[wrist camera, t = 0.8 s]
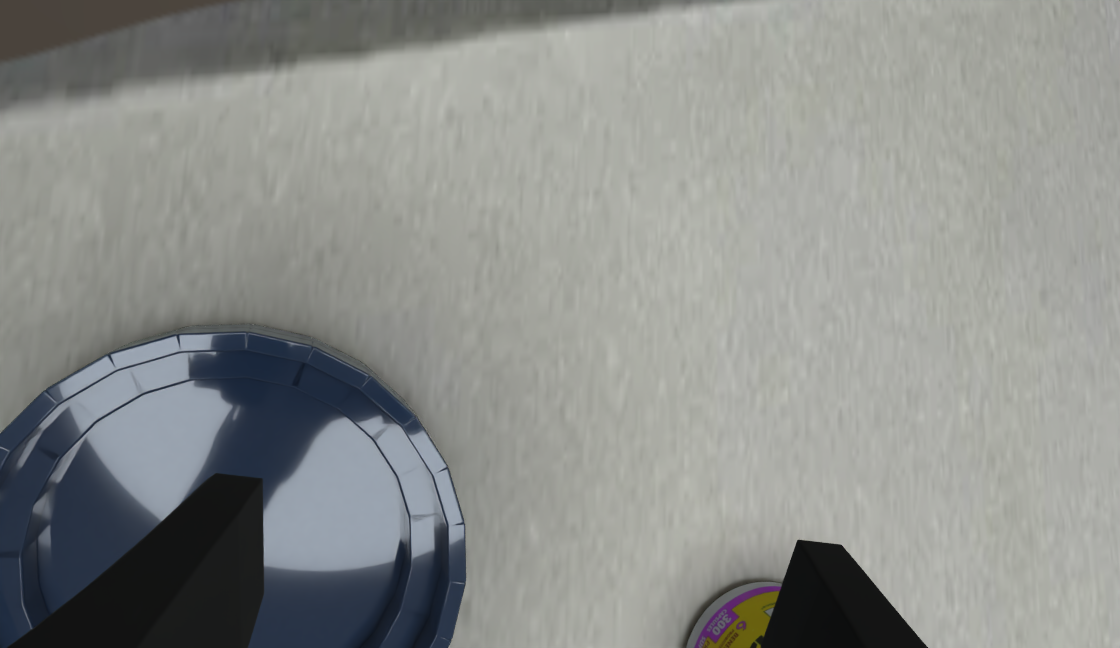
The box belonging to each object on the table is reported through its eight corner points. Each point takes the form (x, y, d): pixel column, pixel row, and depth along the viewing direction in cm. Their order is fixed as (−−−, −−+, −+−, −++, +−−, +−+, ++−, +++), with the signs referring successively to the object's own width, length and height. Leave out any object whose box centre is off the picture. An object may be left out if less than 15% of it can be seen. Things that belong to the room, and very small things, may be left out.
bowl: (159, 836, 32) (140, 914, 28) (-117, 484, 29) (-180, 518, 25) (521, 584, 35) (548, 624, 31) (304, 241, 32) (304, 239, 28)
